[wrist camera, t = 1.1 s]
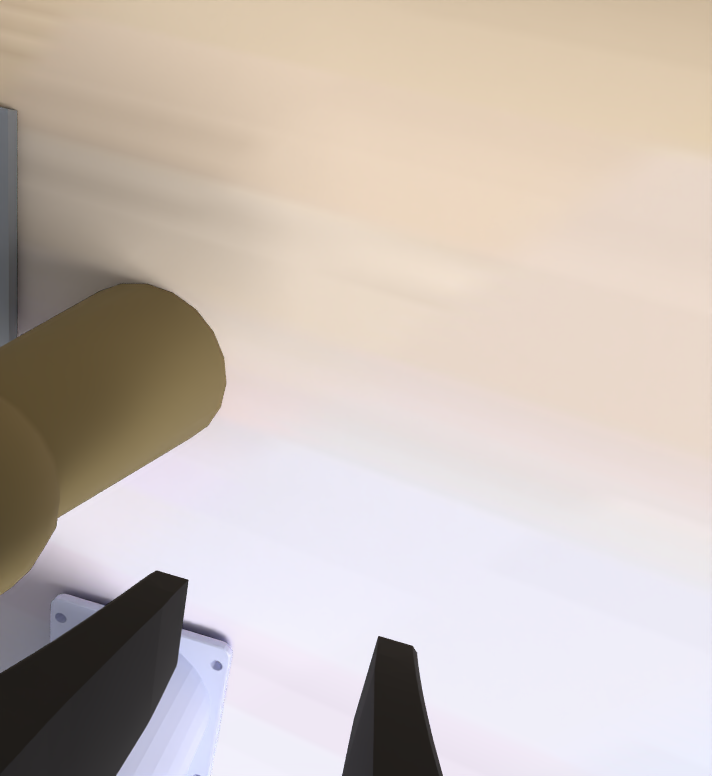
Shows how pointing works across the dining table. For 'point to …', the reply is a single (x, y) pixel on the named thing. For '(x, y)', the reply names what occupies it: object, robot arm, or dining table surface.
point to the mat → (8, 225)
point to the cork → (96, 406)
